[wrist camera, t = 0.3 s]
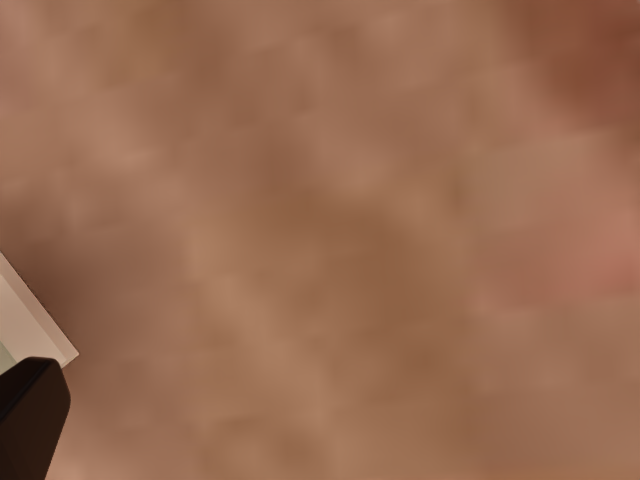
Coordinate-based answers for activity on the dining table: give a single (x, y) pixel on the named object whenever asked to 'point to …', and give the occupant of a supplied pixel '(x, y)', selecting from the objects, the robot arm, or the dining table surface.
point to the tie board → (27, 324)
